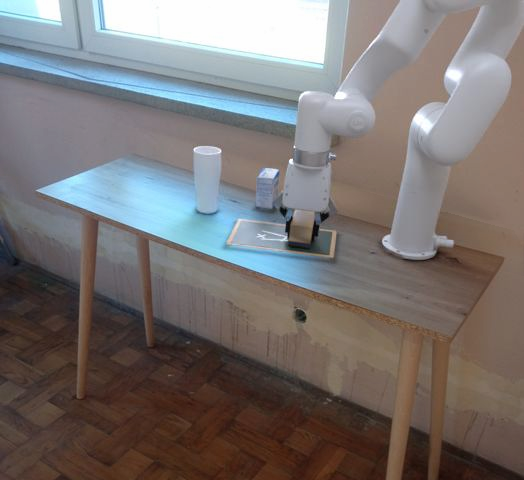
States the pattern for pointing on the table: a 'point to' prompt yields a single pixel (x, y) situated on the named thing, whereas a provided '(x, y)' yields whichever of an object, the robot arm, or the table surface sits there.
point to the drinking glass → (207, 177)
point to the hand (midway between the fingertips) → (301, 236)
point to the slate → (279, 238)
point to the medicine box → (267, 187)
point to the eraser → (301, 229)
